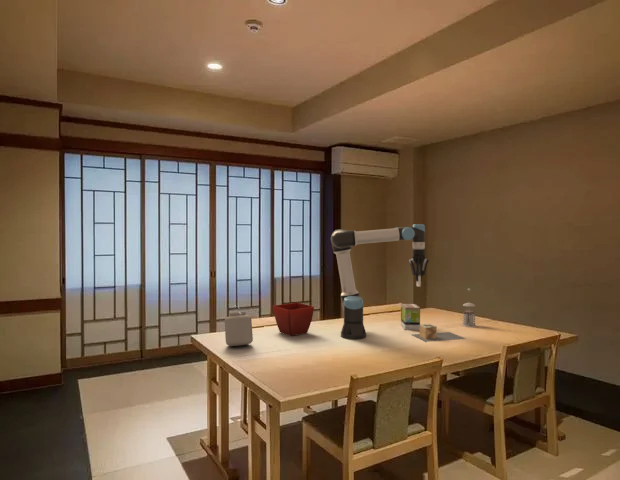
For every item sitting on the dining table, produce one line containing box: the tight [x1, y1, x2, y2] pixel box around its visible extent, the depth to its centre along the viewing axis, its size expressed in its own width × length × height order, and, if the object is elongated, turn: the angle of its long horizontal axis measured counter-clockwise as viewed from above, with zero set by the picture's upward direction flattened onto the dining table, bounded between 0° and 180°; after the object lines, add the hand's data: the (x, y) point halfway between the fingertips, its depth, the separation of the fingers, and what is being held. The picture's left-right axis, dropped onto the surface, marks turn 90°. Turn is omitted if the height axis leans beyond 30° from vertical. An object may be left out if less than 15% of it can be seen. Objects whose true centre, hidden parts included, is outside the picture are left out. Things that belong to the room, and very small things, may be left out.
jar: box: [224, 305, 254, 347], centre depth 249 cm, size 19×15×25 cm
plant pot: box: [272, 302, 315, 337], centre depth 279 cm, size 19×19×17 cm
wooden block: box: [419, 323, 437, 339], centre depth 266 cm, size 7×7×7 cm
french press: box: [460, 288, 477, 328], centre depth 299 cm, size 10×12×25 cm
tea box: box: [400, 303, 421, 331], centre depth 294 cm, size 15×10×15 cm
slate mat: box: [411, 331, 467, 343], centre depth 268 cm, size 26×18×1 cm
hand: (418, 286), depth 282 cm, fingers closed
